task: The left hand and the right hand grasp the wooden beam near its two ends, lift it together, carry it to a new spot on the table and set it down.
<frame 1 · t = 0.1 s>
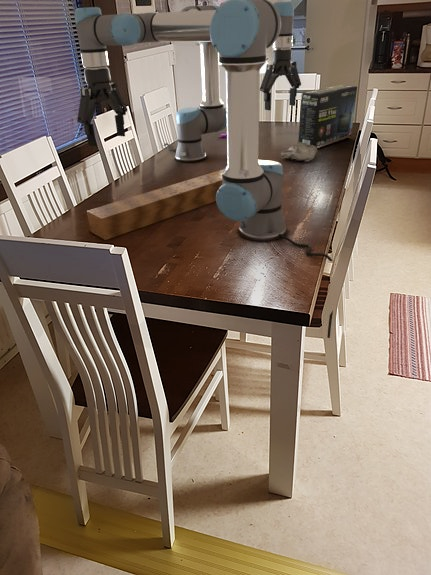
left hand: (280, 107, 186), 28 cm above the table, tool pointing down, fingers open, 13 cm apart
right hand: (107, 140, 148), 28 cm above the table, tool pointing down, fingers open, 13 cm apart
wooden beam: (192, 203, 175), on the table
router box: (325, 143, 245), on the table
handgun: (231, 139, 258), on the table
fossil: (298, 158, 222), on the table
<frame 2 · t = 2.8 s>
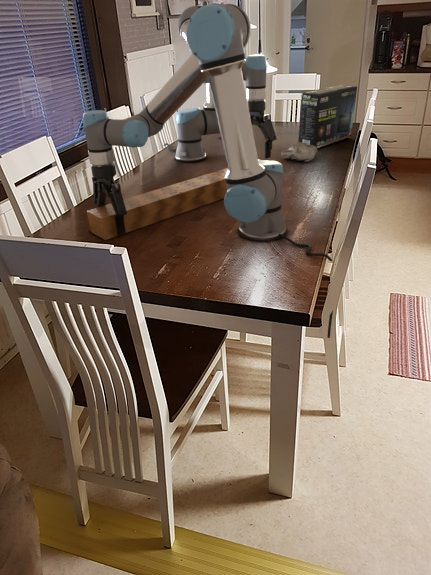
left hand: (255, 155, 188), 11 cm above the table, tool pointing down, fingers open, 13 cm apart
right hand: (113, 229, 155), 1 cm above the table, tool pointing down, fingers closed on wooden beam, 10 cm apart
wooden beam: (192, 203, 175), on the table, touching right hand
everything else where it was.
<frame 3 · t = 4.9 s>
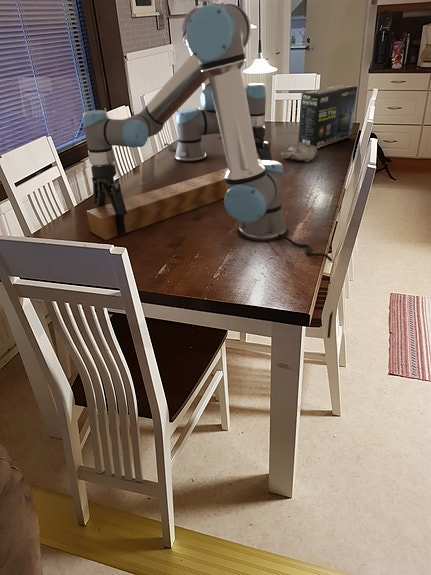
left hand: (255, 180, 194), 0 cm above the table, tool pointing down, fingers closed on wooden beam, 10 cm apart
right hand: (113, 229, 155), 1 cm above the table, tool pointing down, fingers closed on wooden beam, 10 cm apart
wooden beam: (192, 203, 175), on the table, touching right hand, left hand
everything else where it was.
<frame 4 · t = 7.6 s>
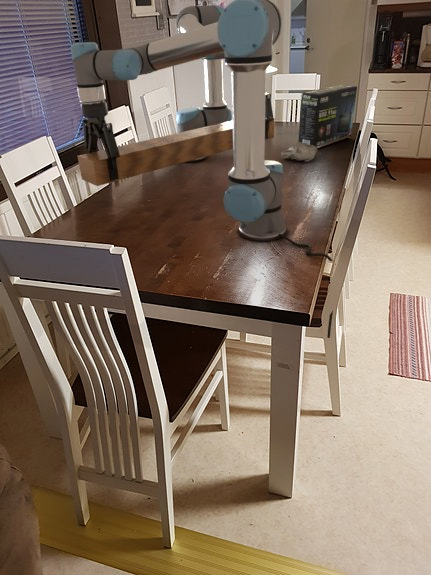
left hand: (255, 136, 185), 18 cm above the table, tool pointing down, fingers closed on wooden beam, 10 cm apart
right hand: (105, 176, 146), 19 cm above the table, tool pointing down, fingers closed on wooden beam, 10 cm apart
wooden beam: (189, 156, 166), point 18 cm above the table, touching right hand, left hand
everything else where it was.
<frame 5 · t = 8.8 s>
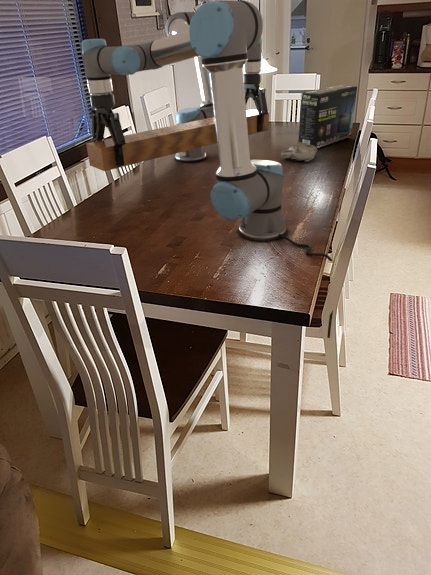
left hand: (250, 129, 198), 18 cm above the table, tool pointing down, fingers closed on wooden beam, 10 cm apart
right hand: (112, 162, 159), 19 cm above the table, tool pointing down, fingers closed on wooden beam, 10 cm apart
wooden beam: (189, 145, 179), point 18 cm above the table, touching right hand, left hand
everything else where it was.
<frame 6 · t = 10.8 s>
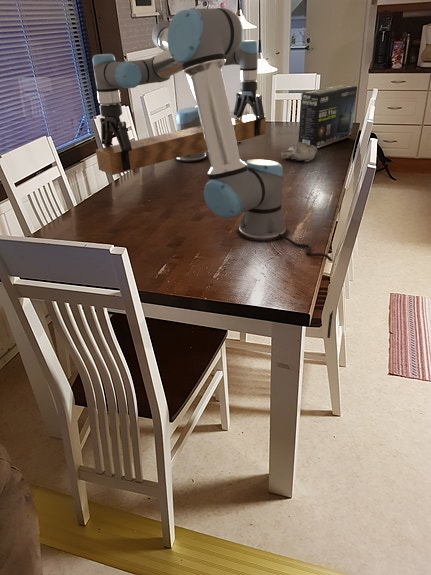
left hand: (248, 133, 210), 14 cm above the table, tool pointing down, fingers closed on wooden beam, 10 cm apart
right hand: (119, 166, 172), 14 cm above the table, tool pointing down, fingers closed on wooden beam, 10 cm apart
wooden beam: (190, 150, 191), point 13 cm above the table, touching right hand, left hand
everything else where it was.
when the left hand's fingers open (1 cm above the table, at t = 12.6 s): wooden beam stays where it is, on the table.
when the right hand's fingers open (1 cm above the table, at t = 12.6 s): wooden beam stays where it is, on the table.
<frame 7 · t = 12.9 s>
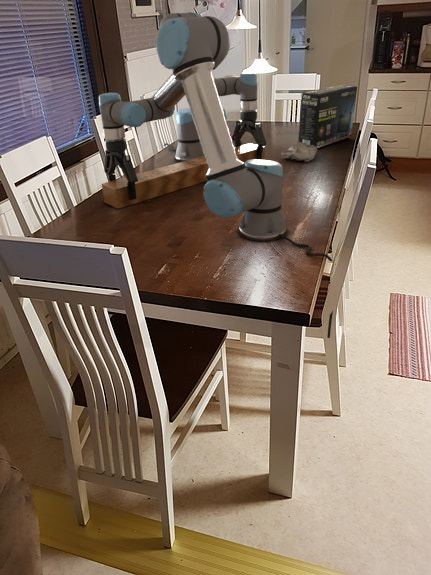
left hand: (248, 158, 216), 3 cm above the table, tool pointing down, fingers open, 13 cm apart
right hand: (123, 195, 178), 3 cm above the table, tool pointing down, fingers open, 13 cm apart
wooden beam: (192, 180, 198), on the table
everything else where it was.
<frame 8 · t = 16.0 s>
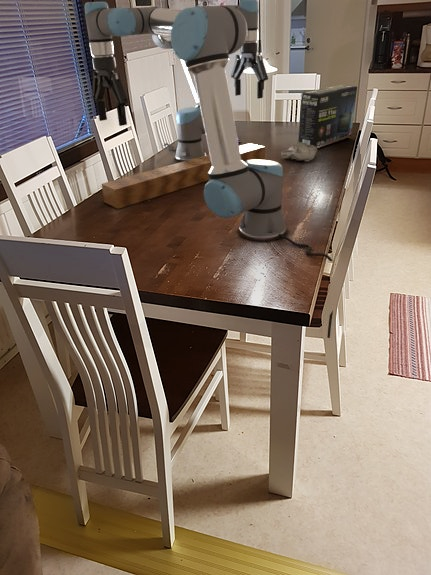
left hand: (248, 96, 202), 30 cm above the table, tool pointing down, fingers open, 13 cm apart
right hand: (112, 122, 164), 30 cm above the table, tool pointing down, fingers open, 13 cm apart
nothing on the table moved.
at the end: wooden beam inside the target area (0.0 cm from its centre), on the table; wooden beam tilted 0°; wooden beam never tilted more than 1° during the clip; both hands held the wooden beam at the same time; the left hand is holding nothing; the right hand is holding nothing; wooden beam at rest at the end (0.0 cm/s) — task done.
